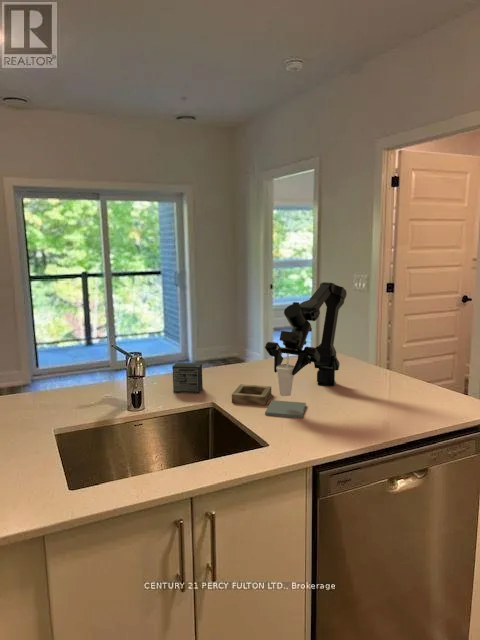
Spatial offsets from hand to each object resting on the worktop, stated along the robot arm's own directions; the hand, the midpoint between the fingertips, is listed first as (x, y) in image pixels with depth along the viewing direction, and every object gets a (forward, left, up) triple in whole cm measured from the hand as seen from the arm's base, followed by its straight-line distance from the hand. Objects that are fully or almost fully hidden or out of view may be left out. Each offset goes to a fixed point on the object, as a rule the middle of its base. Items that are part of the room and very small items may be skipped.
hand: (283, 373), depth 153 cm
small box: (+39, -13, -13) cm, 44 cm away
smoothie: (0, -1, -8) cm, 8 cm away
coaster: (-1, -1, -13) cm, 13 cm away
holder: (+13, -10, -13) cm, 21 cm away
